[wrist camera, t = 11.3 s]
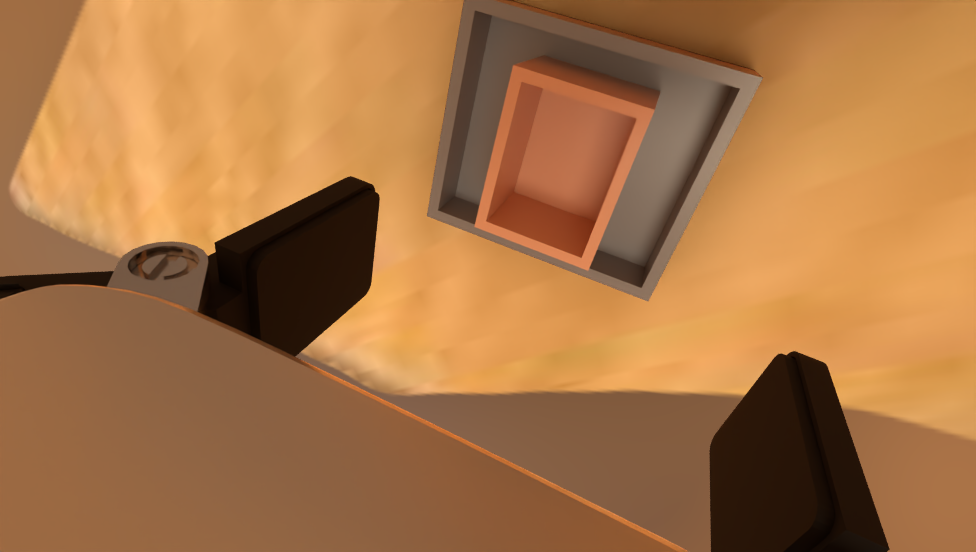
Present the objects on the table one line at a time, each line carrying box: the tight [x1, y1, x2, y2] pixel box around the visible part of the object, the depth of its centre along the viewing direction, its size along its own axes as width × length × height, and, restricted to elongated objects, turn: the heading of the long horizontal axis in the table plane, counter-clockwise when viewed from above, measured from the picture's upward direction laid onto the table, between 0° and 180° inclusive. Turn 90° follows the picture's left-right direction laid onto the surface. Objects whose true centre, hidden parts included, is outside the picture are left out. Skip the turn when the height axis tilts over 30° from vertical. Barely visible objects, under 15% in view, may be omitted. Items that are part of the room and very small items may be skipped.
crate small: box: [474, 55, 661, 271], centre depth 27 cm, size 9×7×6 cm
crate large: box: [427, 0, 763, 301], centre depth 29 cm, size 13×15×4 cm
